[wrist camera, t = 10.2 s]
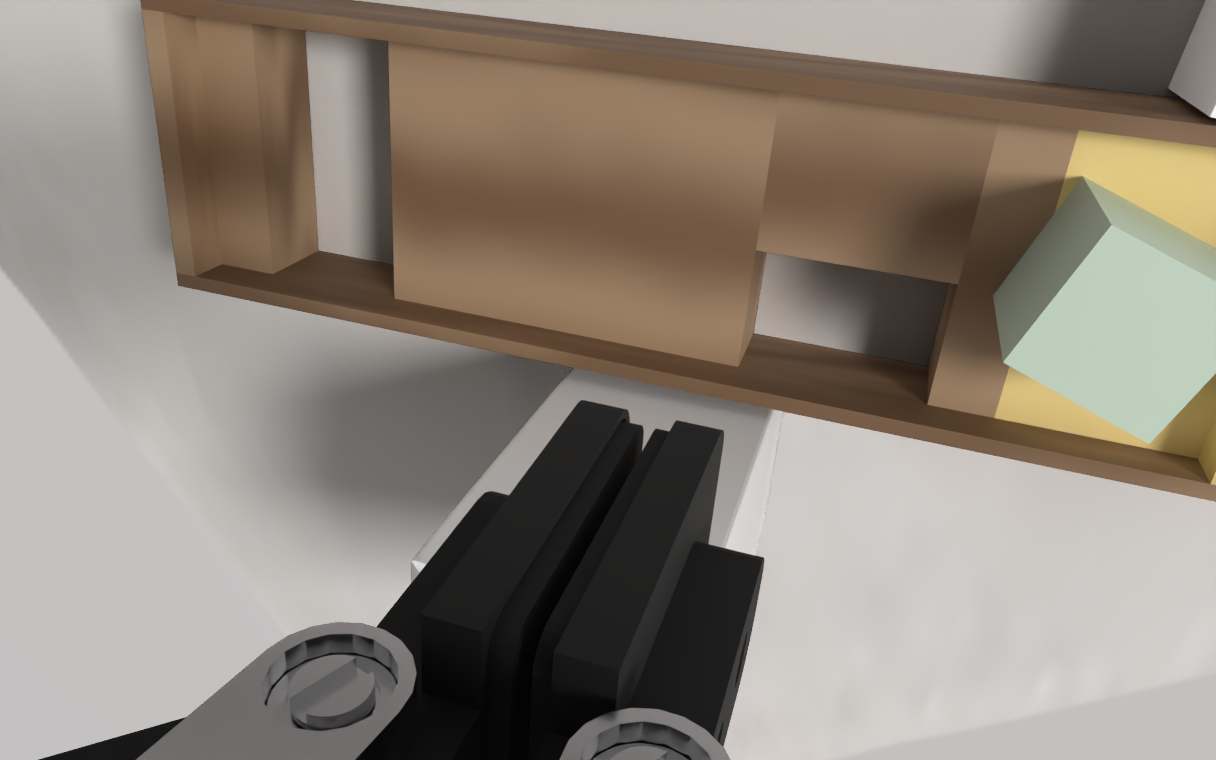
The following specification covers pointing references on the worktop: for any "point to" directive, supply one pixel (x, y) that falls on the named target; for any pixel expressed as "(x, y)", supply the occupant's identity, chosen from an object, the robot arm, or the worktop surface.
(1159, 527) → the worktop surface
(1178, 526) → the worktop surface
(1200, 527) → the worktop surface
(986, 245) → the box
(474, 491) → the milk carton
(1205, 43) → the napkin holder
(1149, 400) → the block
